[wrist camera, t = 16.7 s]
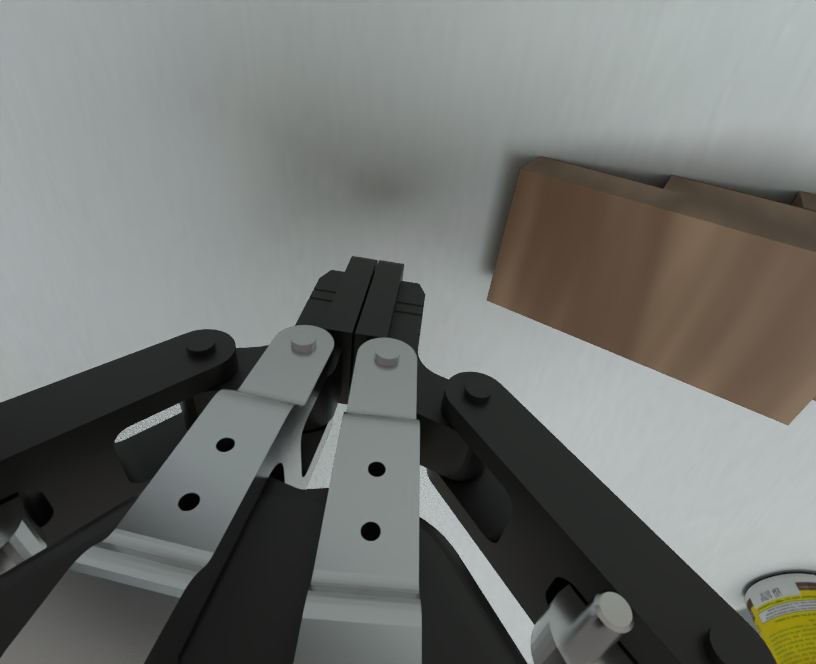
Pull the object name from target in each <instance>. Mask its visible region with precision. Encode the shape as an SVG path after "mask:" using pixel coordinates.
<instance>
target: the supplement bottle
mask: <svg viewBox="0 0 816 664" xmlns="http://www.w3.org/2000/svg"><path fill="white" fill-rule="evenodd" d="M745 602H746V605H747V608H748V610H749V612H750V615H751V617H752V619H753V621H754V623H755V625H756V627H757V630H758V632H759V634H760V636H761V638H762V639H763V641H764V642H765V643H766V645H767V646H768V648H769V649H770V651H771V653H772V655H773V657H774V659H775V660H776V663H777V664H816V575H813V574H802V573H793V574H783V575H777V576H773V577H769V578H766V579H763V580H761V581H759V582H757V583H755V584H754V585H752V586H751V587H750V588H749V589H748V591H747V592H746V595H745Z"/></svg>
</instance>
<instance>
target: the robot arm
mask: <svg viewBox="0 0 816 664" xmlns="http://www.w3.org/2000/svg"><path fill="white" fill-rule="evenodd" d="M403 270H404V264H400V263H394V262H387V261H381V260H379V262H378V261H377V260H374V259H368V258H362V257H355V256H352V257H351V259H350V262H349V264H348V266H347V269H346V271H345V272H341V271H335V270H331V271H329V272H328V273H326V274H325V275H323V276H322V277H320V278H319V280H318V282H317V284H316V286H315V288H314V291H313V292H312V294H311V296H310V299H309V300H308V301H307V303H306V305H305V307H304V309H303V311H302V313H301V315H300V317H299V319H298V321H297V323H296V325H295V326H292V327H289V328H286V329H284V330H282V331H281V332H279V333H278V334H277V335H276V336H275V338H274V339H273V340H272V342H271V343H270V345H268V346H262V347H250V348H236V346H235V341H234V339H233V338H232V337H231V336H230V335H228V334H227V333H225V332H222V331H218V330H211V329H203V330H196V331H192V332H189V333H186V334H183V335H180V336H178V337H175V338H172V339H170V340H167V341H164V342H162V343H159V344H156V345H154V346H151V347H148V348H146V349H143V350H140V351H138V352H135V353H132V354H129V355H127V356H124V357H121V358H119V359H116V360H113V361H111V362H108V363H105V364H103V365H100V366H97V367H95V368H92V369H89V370H87V371H84V372H81V373H79V374H76V375H73V376H71V377H68V378H65V379H63V380H60V381H57V382H55V383H52V384H49V385H47V386H44V387H41V388H39V389H36V390H33V391H31V392H28V393H25V394H23V395H20V396H17V397H15V398H12V399H9V400H7V401H4V402H1V403H0V664H527V662H526V660H525V659H524V657H523V656H522V654H521V653H520V651H519V649H518V648H517V646H516V645H515V643H514V642H513V640H512V638H511V637H510V635H509V634H508V632H507V631H506V629H505V627H504V626H503V624H502V623H501V621H500V620H499V618H498V616H497V615H496V613H495V612H494V610H493V609H492V607H491V605H490V604H489V602H488V601H487V599H486V598H485V596H484V594H483V593H482V591H481V590H480V588H479V586H478V585H477V583H476V582H475V580H474V579H473V577H472V575H471V574H470V572H469V571H468V569H467V568H466V566H465V564H464V563H463V561H462V560H461V558H460V557H459V555H458V554H457V552H456V551H455V549H454V548H453V546H452V545H451V544H450V543H449V542H448V540H447V539H446V538H445V537H444V536H443V535H442V534H441V533H440V532H439V531H438V530H437V529H436V528H434V527H433V526H432V525H430V524H429V523H428V522H426V521H425V520H424V519H422V518H420V517H419V490H420V465H422V466H424V467H426V468H427V474H428V477H429V479H430V481H431V482H432V484H433V485H434V486H435V488H436V489H437V491H438V492H439V493H440V495H441V496H442V498H443V499H444V500H445V502H446V503H447V504H448V506H449V507H450V509H451V510H452V511H453V513H454V514H455V515H456V517H457V518H458V520H459V521H460V522H461V524H462V525H463V527H464V528H465V529H466V531H467V532H468V533H469V535H470V536H471V538H472V539H473V540H474V542H475V543H476V544H477V546H478V547H479V549H480V550H481V551H482V553H483V554H484V556H485V557H486V558H487V560H488V561H489V562H490V564H491V565H492V567H493V568H494V569H495V571H496V572H497V574H498V575H499V576H500V578H501V579H502V580H503V582H504V583H505V585H506V586H507V587H508V589H509V590H510V591H511V593H512V594H513V596H514V597H515V598H516V600H517V601H518V603H519V604H520V605H521V607H522V608H523V609H524V611H525V612H526V614H527V615H528V616H529V618H530V619H531V620H532V622H533V623H534V625H535V626H534V628H533V631H532V635H531V653H532V657H533V661H534V664H777V663H776V660H775V659H774V657H773V655H772V653H771V651H770V649H769V648H768V646H767V645H766V643H765V642H764V641H763V639H762V638H761V637H760V636H759V634H758V633H757V632H756V631H755V630H754V629H753V628H752V627H751V626H750V625H749V624H748V623H747V622H746V621H745V620H744V619H743V618H742V617H741V616H740V615H739V614H738V613H737V612H736V611H735V610H734V609H733V608H732V607H731V606H730V605H729V604H728V603H727V602H726V601H725V600H724V599H723V598H722V597H721V596H719V595H718V594H717V593H716V592H715V591H714V590H713V589H712V588H711V587H710V586H709V585H708V584H707V583H706V582H705V581H704V580H703V579H702V578H701V577H700V576H699V575H698V574H697V573H696V572H695V571H694V570H693V569H692V568H691V567H689V566H688V565H687V564H686V563H685V562H684V561H683V560H682V559H681V558H680V557H679V556H678V555H677V554H676V553H675V552H674V551H673V550H672V549H671V548H670V547H669V546H668V545H667V544H666V543H665V542H664V541H663V540H662V539H661V538H659V537H658V536H657V535H656V534H655V533H654V532H653V531H652V530H651V529H650V528H649V527H648V526H647V525H646V524H645V523H644V522H643V521H642V520H641V519H640V518H639V517H638V516H637V515H636V514H635V513H634V512H633V511H632V510H631V509H629V508H628V507H627V506H626V505H625V504H624V503H623V502H622V501H621V500H620V499H619V498H618V497H617V496H616V495H615V494H614V493H613V492H612V491H611V490H610V489H609V488H608V487H607V486H606V485H605V484H604V483H603V482H602V481H601V480H599V479H598V478H597V477H596V476H595V475H594V474H593V473H592V472H591V471H590V470H589V469H588V468H587V467H586V466H585V465H584V464H583V463H582V462H581V461H580V460H579V459H578V458H577V457H576V456H575V455H574V454H573V453H572V452H571V451H569V450H568V449H567V448H566V447H565V446H564V445H563V444H562V443H561V442H560V441H559V440H558V439H557V438H556V437H555V436H554V435H553V434H552V433H551V432H550V431H549V430H548V429H547V428H546V427H545V426H544V425H543V424H542V423H541V422H540V421H538V420H537V419H536V418H535V417H534V416H533V415H532V414H531V413H530V412H529V411H528V410H527V409H526V408H525V407H524V406H523V405H522V404H521V403H520V402H519V401H518V400H517V399H516V398H515V397H514V396H513V395H512V394H511V393H510V392H508V391H507V390H506V389H505V388H504V387H503V386H502V385H501V384H500V383H499V382H498V381H496V380H495V379H493V378H492V377H490V376H487V375H485V374H482V373H477V372H462V373H458V374H456V375H454V376H453V377H451V378H450V379H449V380H448V379H446V378H443V377H441V376H439V375H437V374H435V373H433V372H431V371H430V370H429V369H427V368H426V367H425V366H424V365H423V364H422V362H421V361H420V359H419V356H418V345H419V337H420V330H421V322H422V315H423V307H424V300H425V293H424V291H423V290H422V288H421V286H420V284H418V283H411V282H405V281H402V278H403ZM178 403H180V406H181V410H182V413H180V414H177V415H175V416H173V417H171V418H169V419H167V420H165V421H163V422H161V423H159V424H157V425H155V426H153V427H151V428H148V429H146V430H144V431H142V432H140V433H138V434H136V435H134V436H132V437H130V438H128V439H126V440H123V441H121V442H117V443H114V441H115V439H116V437H117V436H118V434H119V433H120V432H121V431H123V430H124V429H125V428H127V427H129V426H131V425H133V424H135V423H137V422H139V421H141V420H144V419H146V418H148V417H150V416H152V415H154V414H156V413H159V412H161V411H163V410H165V409H167V408H169V407H171V406H174V405H176V404H178ZM337 403H342V404H348V406H347V411H346V412H344V414H343V418H342V423H341V428H340V433H339V438H338V444H337V449H336V454H335V460H334V465H333V470H332V475H331V481H330V486H329V488H320V489H306V488H307V486H308V483H309V481H310V478H311V476H312V473H313V471H314V469H315V466H316V464H317V461H318V459H319V456H320V454H321V452H322V449H323V447H324V444H325V442H326V440H327V437H328V435H329V432H330V430H331V427H332V417H333V415H334V413H335V410H336V407H337Z"/></svg>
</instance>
